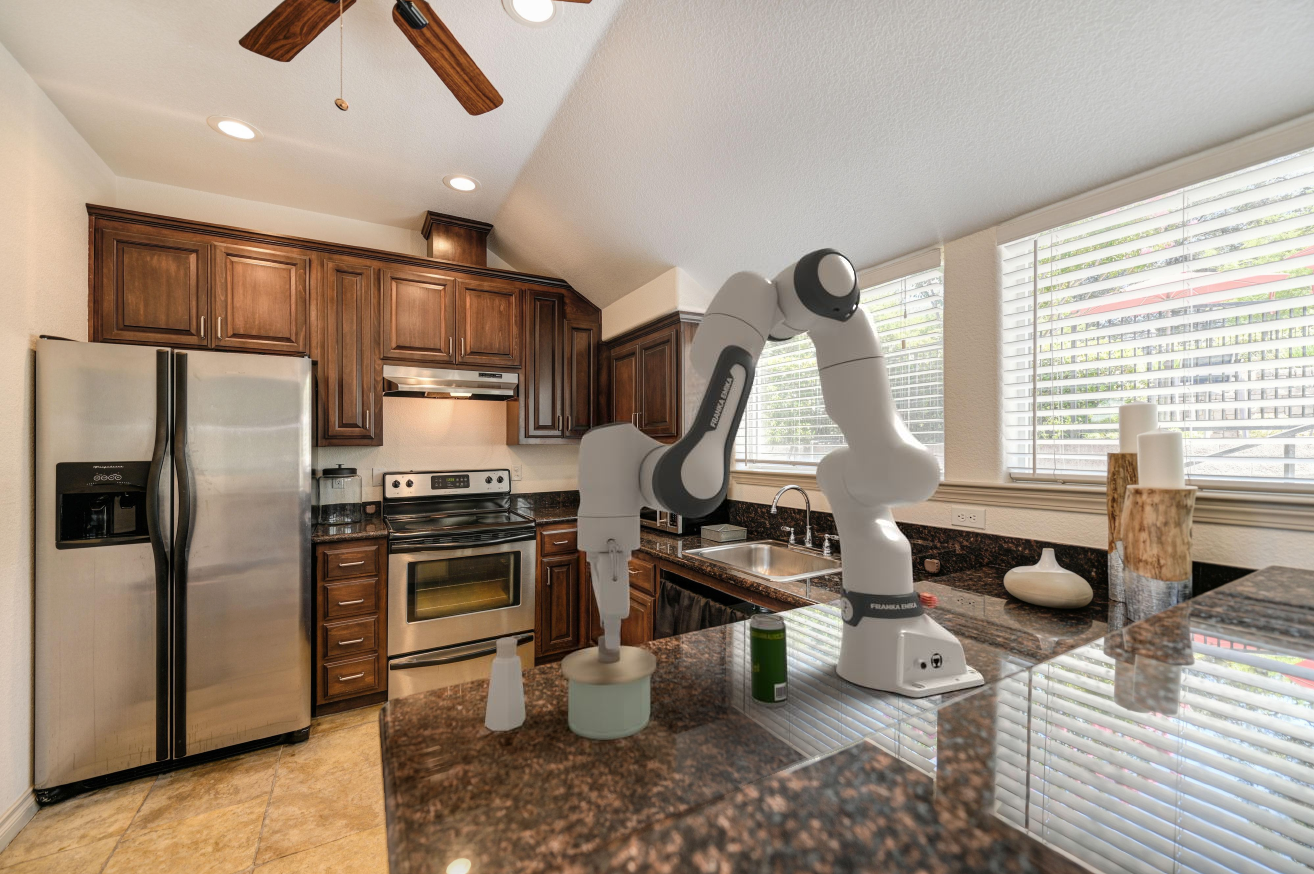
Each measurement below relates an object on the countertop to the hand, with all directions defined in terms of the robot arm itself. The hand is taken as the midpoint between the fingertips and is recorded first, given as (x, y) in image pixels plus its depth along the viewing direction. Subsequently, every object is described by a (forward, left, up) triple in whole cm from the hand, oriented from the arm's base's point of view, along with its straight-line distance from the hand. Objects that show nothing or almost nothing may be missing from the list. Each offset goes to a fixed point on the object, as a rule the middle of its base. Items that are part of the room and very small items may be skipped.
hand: (609, 636), depth 73 cm
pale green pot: (0, 0, -11) cm, 11 cm away
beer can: (-24, -2, -11) cm, 27 cm away
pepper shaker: (+14, -2, -11) cm, 18 cm away
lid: (0, 0, -4) cm, 4 cm away
